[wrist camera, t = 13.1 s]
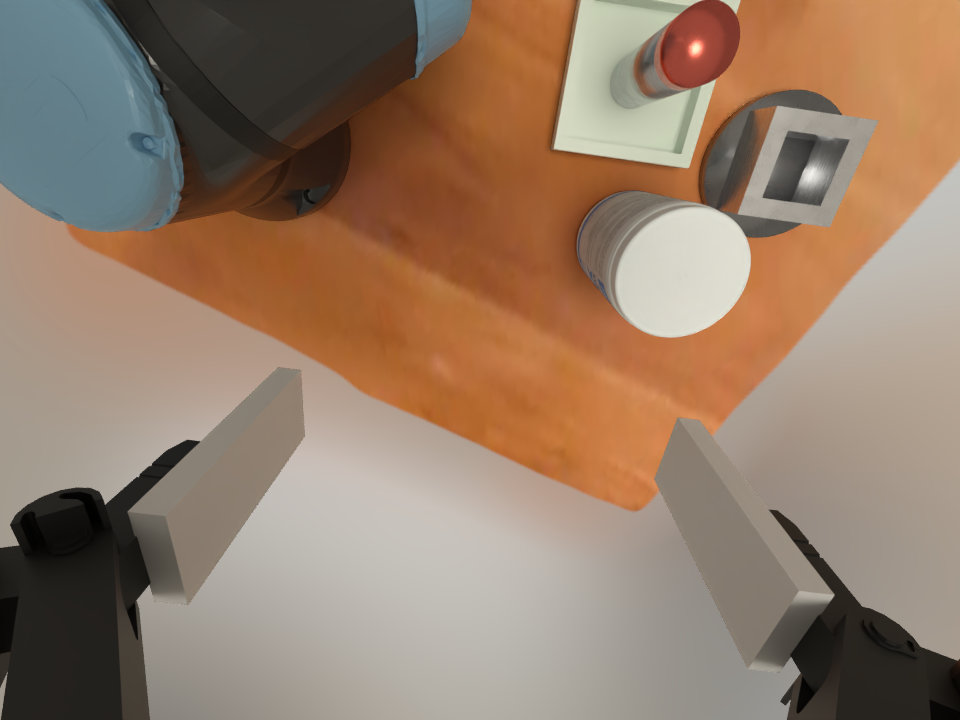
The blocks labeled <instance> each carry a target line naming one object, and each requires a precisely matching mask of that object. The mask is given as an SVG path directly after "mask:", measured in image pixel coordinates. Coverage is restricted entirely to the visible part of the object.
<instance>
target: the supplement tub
mask: <svg viewBox="0 0 960 720" xmlns="http://www.w3.org/2000/svg"><path fill="white" fill-rule="evenodd" d="M577 256H578V260H579V263H580V265H581V267H582V269H583V271H584V272H585V273H586V275H587V276H588V277H589V278H590V280H591V281H592V282H593V283H594V285H595V286H596V287H597V288H598V289H599V290H600V292H601V293H602V294H603V295H604V296H605V298H606V299H607V300H608V301H609V302H610V304H611V305H612V306H613V307H614V308H615V309H616V310H617V312H618V313H619V314H620V315H621V316H622V317H623V318H624V319H625V320H627V321H628V322H629V323H630V324H632V325H634V326H635V327H636V328H638V329H640V330H641V331H643V332H645V333H648V334H651V335H654V336H659V337H681V336H686V335H690V334H694V333H697V332H699V331H701V330H703V329H706V328H707V327H709V326H711V325H712V324H714V323H715V322H717V321H718V320H720V319H721V318H722V317H723V316H724V315H725V314H726V313H727V312H728V311H729V310H730V309H731V308H732V307H733V306H734V304H735V303H736V302H737V300H738V299H739V297H740V296H741V294H742V292H743V290H744V288H745V286H746V283H747V280H748V277H749V272H750V266H751V256H750V248H749V244H748V241H747V238H746V236H745V234H744V232H743V231H742V229H741V228H740V227H739V225H738V224H737V223H736V222H735V221H734V220H733V219H731V218H730V217H729V216H727V215H726V214H724V213H722V212H719V211H718V210H716V209H714V208H712V207H709V206H706V205H703V204H699V203H695V202H690V201H686V200H681V199H676V198H671V197H667V196H662V195H657V194H652V193H648V192H643V191H623V192H619V193H615V194H612V195H610V196H608V197H606V198H605V199H603V200H601V201H600V202H599V203H597V204H596V205H595V206H594V207H593V208H592V209H591V210H590V211H589V213H588V214H587V215H586V217H585V218H584V220H583V222H582V224H581V226H580V229H579V232H578V236H577Z"/></svg>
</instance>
